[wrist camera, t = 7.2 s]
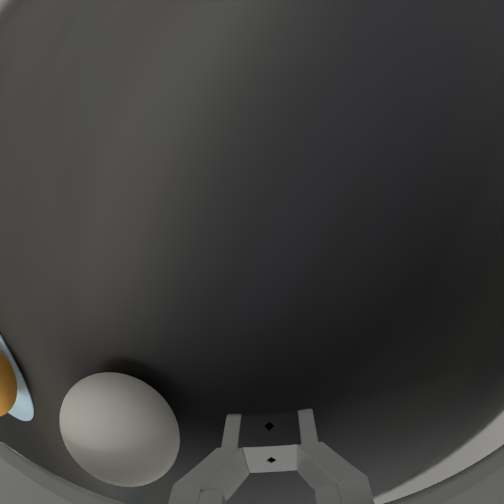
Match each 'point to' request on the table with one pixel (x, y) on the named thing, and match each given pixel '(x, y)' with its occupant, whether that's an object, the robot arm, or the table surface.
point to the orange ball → (7, 385)
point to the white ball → (119, 429)
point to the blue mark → (19, 389)
